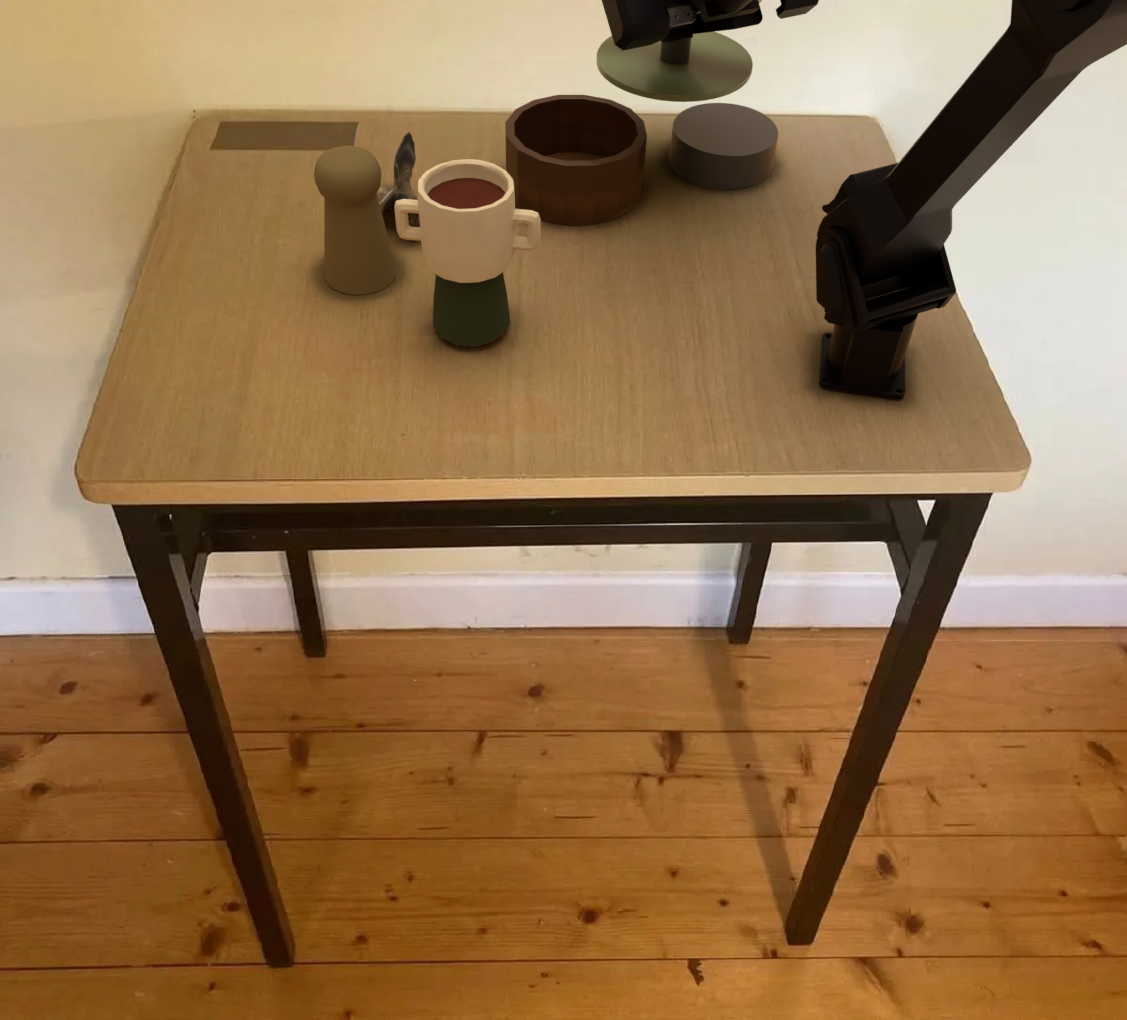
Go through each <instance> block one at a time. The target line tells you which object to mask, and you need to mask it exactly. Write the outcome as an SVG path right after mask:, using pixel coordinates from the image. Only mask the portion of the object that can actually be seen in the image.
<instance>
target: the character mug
mask: <svg viewBox="0 0 1127 1020" xmlns="http://www.w3.org/2000/svg"><path fill="white" fill-rule="evenodd" d="M417 199H418V200H412V199H401V200H397V201H396V202H395V206H394V208H395V212H394V215H395V216H394V217H395V218H394V219H395V228H396V232H397V234H398V237H399V238H401V239H403V240H407V241H410V240H414V241H419V242H420V243H421V244H420V245H421V254H422V258H423V259H424V262H425V264H426V265H427V266H428V268H429V270H430V271H431V272H432V273H433V274H434V275H435V278H434V279H435V280H434V289H433V297H432V298H433V302H432V327H433V328H434V329H435V331H436V332H437V334H438V335H439V336H440V338H442V339H443V340H446V341H447V342H449V343H451V344H453V345H455V346H463V347H472V348H473V347H478V346H482V345H486V344H489V343H492V342H494V341H495V340H496V339H498V338H499V337H501V336H503V335H504V334H505V333H506V331H507V329H509V327H510V325H511V323H512V321H511V315H510V306H509V298H508V291H507V287H506V281H505V276H504V275H505V274H504V272H505V271H507V270H508V267H509V266H510V263H511V262H512V260H513V257H514V256H515V254H516V250H517V251H528V252H533V251H536V250H539V248H540V246H541V229H542V227H541V225H542V223H541V221H542V220H541V219H540V216H539V214H538V212H535V211H533V210H523V209H519V208H516V206H515V192H514V183H513V179H512V177H511V176H510V175H509V174H508V173H507V171H506V169H505V168H502V167H500V166H499V165H496V163H493V162H489V161H485V160H481V159H474V158H473V159H471V158H468V159H467V158H463V159H454V160H453V159H452V160H449V161H446V162H441V163H439V164H438V163H437V164H436V165H434V166H433V167H431V168H429V169H428V170H426V171H425V172H424V173H423V174H422V175H421V177H420V178H419V179H418V180H417ZM408 213H418V214H419V219H420V227H410V225H409V222H408ZM517 223H518V224H527V236H518V235H516V224H517Z"/></svg>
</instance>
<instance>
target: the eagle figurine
mask: <svg viewBox="0 0 1127 1020" xmlns="http://www.w3.org/2000/svg"><path fill="white" fill-rule="evenodd" d="M415 146H416V145H415V141H414V138H413V136H412V134H411V132H410V131H408V132H407V133H405V134H404V135H403V137H402V140H401V142H400V143H399V146H398V148H397V150H396V152H395V156H394V161H393V186H392V187H389V186H380V188H379V190H378V191H377V197H378V201H379V205H380V208H381V212H382V213H383V212H384V211H385V210H386V209H389V210H390V211H393V212H394V213H395V208H394V206H395V202H396V201H397V200H401V199H412V200H418V196H417V195H416V194H415V193H414V192H413V190H412V185H411V179H412V178H413V170H414V167H415V164H416V158H417V156H416V147H415ZM408 222H409V226H410V227H420V219H419V214H418V213H408ZM409 241H410V242H411V243H413V242H414V241H415V240H409Z"/></svg>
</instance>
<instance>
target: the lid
mask: <svg viewBox="0 0 1127 1020" xmlns="http://www.w3.org/2000/svg"><path fill="white" fill-rule="evenodd" d="M690 27H691V31H692V30H693V23H691V24H690ZM595 58H596V59H595V60H596V68H597V70H598V72H599V73H600V75H601V76H602V77H603V78H604V79H605V80H606V81H607V82H609V83H610V84H611V85H613V86H615V87H616V88H618V89H620V90H622V91H624V92H627V93H629V94H632V95H635V96H637V97H641V98H646V99H650V100H656V101H662V102H671V103H672V102H674V103H675V102H677V103H691V102H692V103H693V102H703V101H709V100H715V99H718V98H722V97H726V96H728V95H730V94H733V93H735V92H736V91H738V90H740V89H741V88H743V87H744V86H745V85H746V84H747V83H748V82H749V81H750V78H751V77H752V73H753V68H754V67H753V65H754V63H753V57H752V56H751V54H750V53H749V51H748V50H747V49H746V48H745V47H744V46H743V45H742V44H741V43H739V42H738V41H736V40H735V39H733V38H731V37H729V36H727V35H724V34H722V33H720V32H718V31H715V32H707V33H698V34H693V37H692V38H689V39H684V40H679V41H674V42H669V43H663V42H661V41H659V42H656V43H654V44H652V45H648V46H643V47H638V48H633V49H628V50H621V49H620V48H618V47H617V46H615V44H614V41H613V38H612V35H611V36H609V37H607V38H606V39H605V40H603V42H602V43H601V44H600V45H599V47H598V48H597V52H596V57H595Z"/></svg>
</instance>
